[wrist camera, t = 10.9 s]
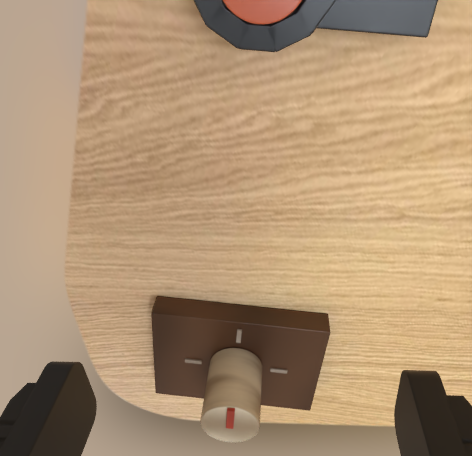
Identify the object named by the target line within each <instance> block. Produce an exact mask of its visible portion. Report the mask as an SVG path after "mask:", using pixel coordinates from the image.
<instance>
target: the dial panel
mask: <svg viewBox="0 0 472 456" xmlns="http://www.w3.org/2000/svg"><path fill="white" fill-rule="evenodd" d="M152 331H153V350H154V369H155V388H156V393H160V394H169V395H178V396H187V397H196V398H204V396H205V390H206V384H207V378H208V372H209V366H210V361H211V358H212V357H213V356H214V354H216V353H217V352H219V351H221V350H223V349H227V348H240V349H244V350H247V351H250V352H252V353H253V354H255V355H256V356H257V357H258V358H259V359H260V361H261V364H262V386H261V405H266V406H275V407H284V408H293V409H302V410H310V409H311V405H312V401H313V397H314V393H315V389H316V385H317V382H318V378H319V374H320V370H321V366H322V362H323V358H324V354H325V351H326V347H327V343H328V339H329V335H330V326H329V318H328V314H321V313H311V312H302V311H292V310H283V309H273V308H264V307H255V306H245V305H236V304H226V303H217V302H207V301H198V300H189V299H179V298H170V297H160V296H157V298H156V301H155V304H154V307H153V310H152Z"/></svg>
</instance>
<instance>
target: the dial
mask: <svg viewBox="0 0 472 456" xmlns="http://www.w3.org/2000/svg"><path fill="white" fill-rule="evenodd" d="M261 386H262V364H261V361H260V359H259V358H258V357H257V356H256V355H255V354H253V353H252V352H250V351H247V350H244V349H240V348H227V349H223V350H221V351H219V352H217V353H216V354H214V356H213V357H212V358H211V361H210V366H209V372H208V378H207V384H206V390H205V396H204V402H203V408H202V414H201V421H200V422H201V426H202V428H203V430H204V431H205V432H206V433H207V434H208V435H210V436H211V437H213V438H216V439H218V440H221V441H225V442H242V441H246V440H249V439H251V438H253V437H254V436H255V435H256V434H257V433H258V431H259V429H260V410H261Z"/></svg>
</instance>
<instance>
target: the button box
mask: <svg viewBox="0 0 472 456" xmlns="http://www.w3.org/2000/svg"><path fill="white" fill-rule="evenodd" d="M194 2H195V4H196V6H197V8H198V10H199V12H200V14H201V16H202V18H203V20H204V22H205V24H206V25H207V27H209V28H210V29H211V30H213V31H214V32H215V33H217V34H218V35H220V36H221V37H222V38H224V39H225V40H227V41H228V42H229V43H231V44H232V45H233V46H235V47H236V48H239V49H246V50H257V51H268V52H275V51H276V52H277V51H279V50H281V49H283V48H285V47H288V46H290V45H292V44H294V43H296V42H298V41H300V40H302V39H304V38H306V37H308V36H310V35H311V34H312V33H313V32H314V30H315V29H316V28H321V29H333V30H344V31H356V32H368V33H379V34H391V35H403V36H415V37H427V36H428V34H429V30H430V26H431V23H432V19H433V16H434V12H435V9H436V5H437V2H438V0H302V1H301V3H300V4H299V5H298V7H297V8H296V9H295V10H294V11H293V12H292V13H291V14H290V15H288V16H287V17H285V18H284V19H282V20H280V21H277V22H275V23H271V24H252V23H249V22H246V21H244V20H242V19H240V18H239V17H237V16H236V15H235V14H233V13H232V12H231V11H230V10H229V9H228V7H227V6H226V5H225V3H224V2H223V0H194Z"/></svg>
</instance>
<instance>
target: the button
mask: <svg viewBox="0 0 472 456" xmlns="http://www.w3.org/2000/svg"><path fill="white" fill-rule="evenodd" d="M301 1H302V0H223V2H224V3H225V5H226V6H227V7H228V9H229V10H230V11H231V12H232V13H233V14H235V15H236V16H237V17H239V18H240V19H242V20H244V21H246V22H249V23H252V24H271V23H275V22H277V21H280V20H282V19H284V18H285V17H287V16H288V15H290V14H291V13H292V12H293V11H294V10H295V9H296V8H297V7H298V5H299V4H300V3H301Z"/></svg>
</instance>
